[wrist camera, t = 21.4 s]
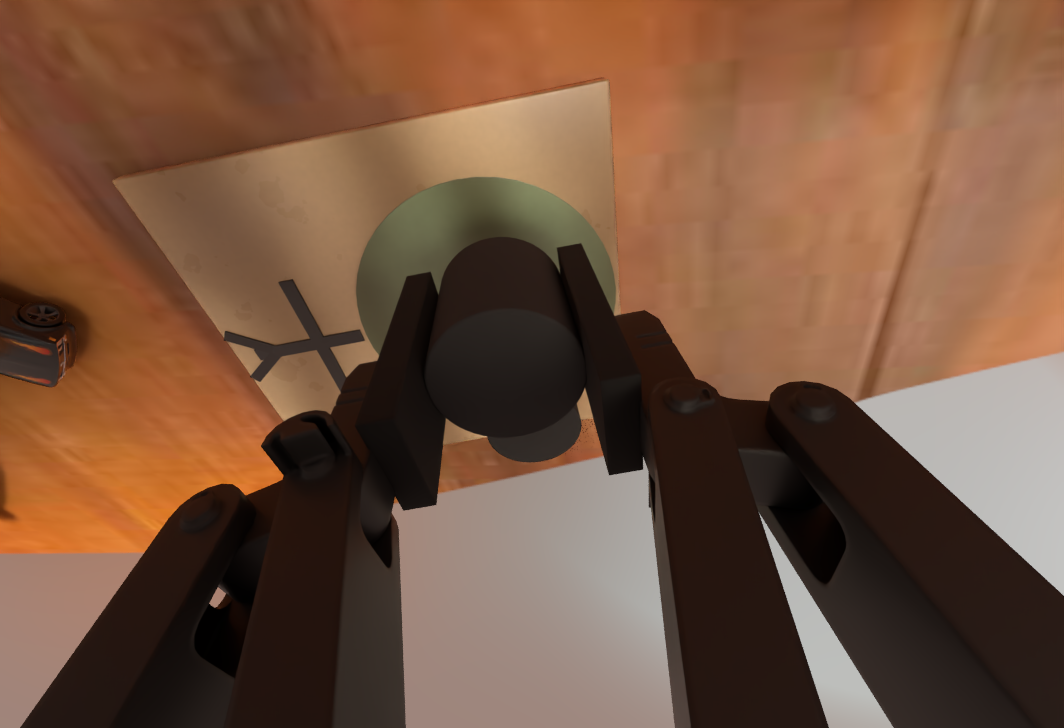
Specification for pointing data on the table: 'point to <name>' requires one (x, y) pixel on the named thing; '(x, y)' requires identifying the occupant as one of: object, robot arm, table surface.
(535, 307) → the dot
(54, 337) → the toy car
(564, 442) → the dot
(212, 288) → the board
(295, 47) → the table surface
